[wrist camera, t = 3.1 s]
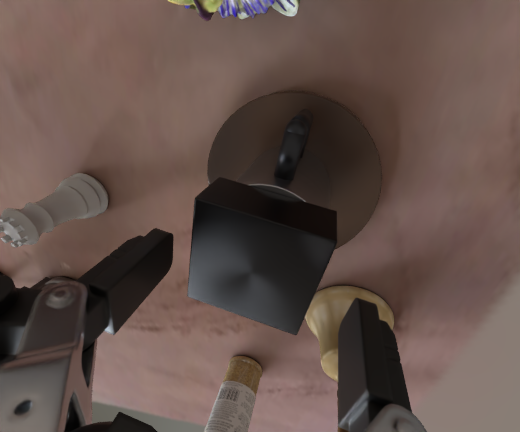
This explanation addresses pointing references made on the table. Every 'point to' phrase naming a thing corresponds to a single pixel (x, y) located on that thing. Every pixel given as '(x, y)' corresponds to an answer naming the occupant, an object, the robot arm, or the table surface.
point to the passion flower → (239, 7)
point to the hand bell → (338, 321)
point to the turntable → (319, 144)
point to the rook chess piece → (54, 210)
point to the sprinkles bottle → (236, 397)
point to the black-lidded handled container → (266, 234)
